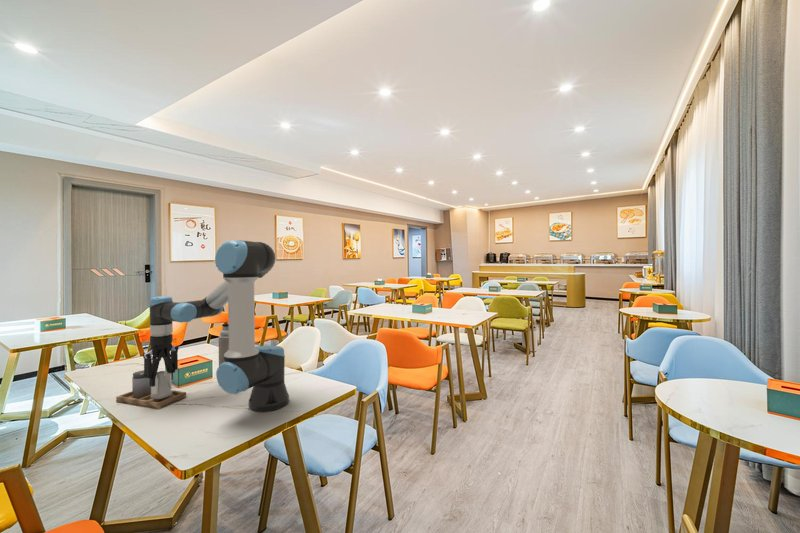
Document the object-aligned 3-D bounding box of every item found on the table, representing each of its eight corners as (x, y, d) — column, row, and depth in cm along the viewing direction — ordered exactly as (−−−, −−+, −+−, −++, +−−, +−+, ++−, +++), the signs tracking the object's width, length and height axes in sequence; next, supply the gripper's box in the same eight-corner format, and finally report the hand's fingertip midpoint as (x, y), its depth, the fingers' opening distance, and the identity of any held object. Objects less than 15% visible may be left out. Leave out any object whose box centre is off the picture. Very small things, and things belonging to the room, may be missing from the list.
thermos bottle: (225, 379, 162) (225, 322, 162) (241, 380, 162) (240, 322, 161) (215, 385, 155) (214, 325, 154) (231, 386, 154) (231, 325, 153)
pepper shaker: (155, 394, 142) (155, 370, 142) (139, 400, 136) (139, 375, 136) (144, 392, 144) (144, 369, 144) (128, 398, 138) (128, 374, 138)
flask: (159, 401, 133) (158, 376, 132) (146, 398, 135) (144, 374, 134) (176, 393, 140) (175, 369, 139) (163, 391, 142) (162, 368, 141)
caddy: (186, 397, 141) (186, 392, 141) (158, 409, 129) (158, 403, 129) (146, 391, 148) (146, 386, 148) (116, 402, 136) (116, 396, 136)
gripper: (175, 329, 146) (175, 382, 147) (131, 338, 129) (131, 398, 129) (188, 330, 144) (188, 384, 144) (145, 339, 127) (145, 401, 127)
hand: (161, 391), depth 137 cm, fingers closed on flask, 5 cm apart
